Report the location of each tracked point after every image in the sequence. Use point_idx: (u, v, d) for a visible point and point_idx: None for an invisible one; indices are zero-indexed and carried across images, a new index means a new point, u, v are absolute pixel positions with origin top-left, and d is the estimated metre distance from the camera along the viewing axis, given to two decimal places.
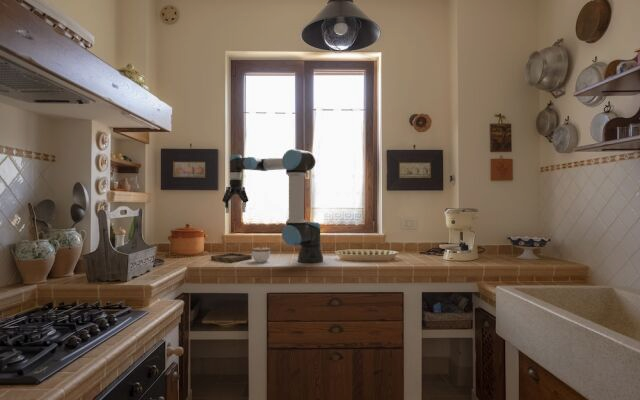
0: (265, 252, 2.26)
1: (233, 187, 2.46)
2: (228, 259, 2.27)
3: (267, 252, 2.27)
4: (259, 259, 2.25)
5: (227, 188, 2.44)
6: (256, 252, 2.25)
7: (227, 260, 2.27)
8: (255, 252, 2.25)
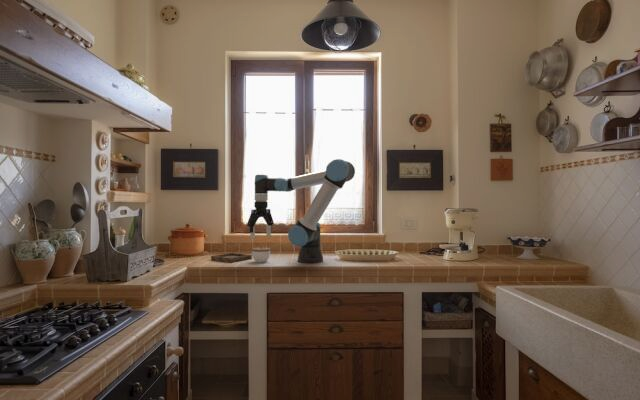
0: (265, 252, 2.26)
1: (258, 210, 2.27)
2: (228, 259, 2.27)
3: (267, 252, 2.27)
4: (259, 259, 2.25)
5: (252, 211, 2.24)
6: (256, 252, 2.25)
7: (227, 260, 2.27)
8: (255, 252, 2.25)
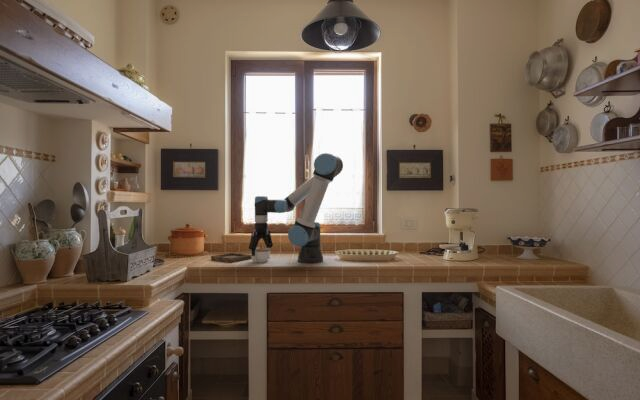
0: (265, 252, 2.26)
1: (258, 231, 2.27)
2: (228, 259, 2.27)
3: (267, 252, 2.27)
4: (259, 259, 2.25)
5: (252, 234, 2.24)
6: None
7: (227, 260, 2.27)
8: None
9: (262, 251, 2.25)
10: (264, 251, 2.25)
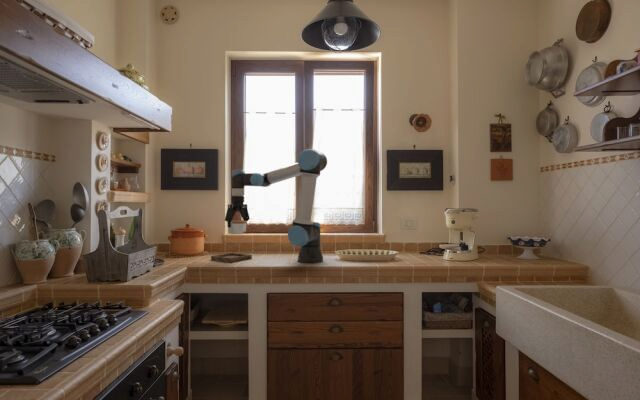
0: (241, 224, 2.32)
1: (235, 204, 2.32)
2: (228, 259, 2.27)
3: (243, 224, 2.33)
4: (235, 231, 2.31)
5: (229, 206, 2.30)
6: (232, 224, 2.31)
7: (227, 260, 2.27)
8: None
9: (238, 223, 2.31)
10: (240, 223, 2.31)
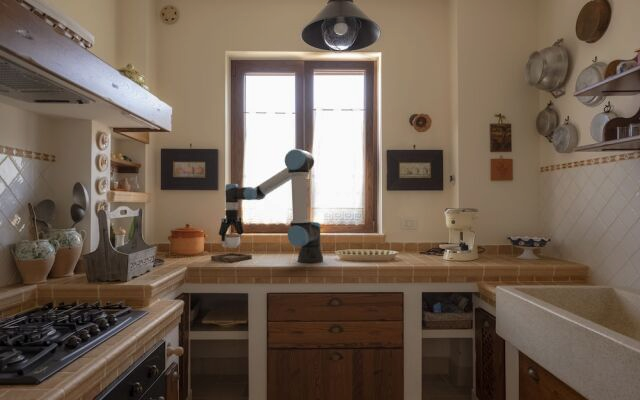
0: (235, 238, 2.33)
1: (229, 218, 2.34)
2: (228, 259, 2.27)
3: (237, 238, 2.34)
4: (229, 244, 2.33)
5: (222, 220, 2.32)
6: (226, 238, 2.33)
7: (227, 260, 2.27)
8: None
9: (232, 237, 2.32)
10: (234, 237, 2.33)
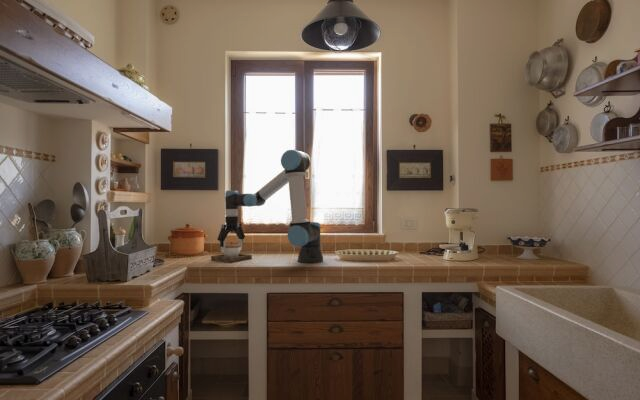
0: (235, 248, 2.33)
1: (229, 224, 2.34)
2: (228, 259, 2.27)
3: (237, 248, 2.34)
4: (229, 255, 2.33)
5: (222, 226, 2.32)
6: (226, 248, 2.32)
7: (227, 260, 2.27)
8: (225, 248, 2.33)
9: (232, 247, 2.32)
10: (234, 247, 2.33)
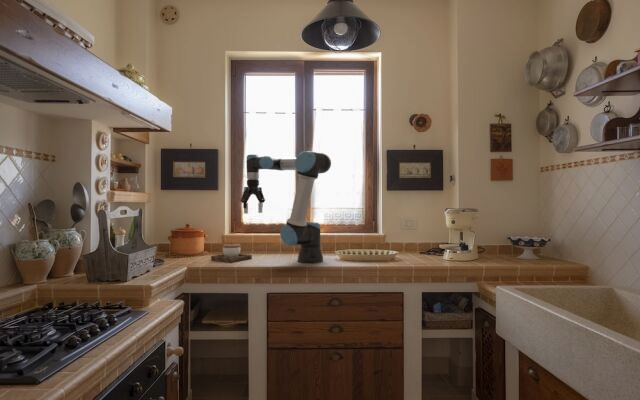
0: (235, 248, 2.33)
1: (251, 187, 2.43)
2: (228, 259, 2.27)
3: (237, 248, 2.34)
4: (229, 255, 2.33)
5: (245, 188, 2.41)
6: (226, 248, 2.33)
7: (227, 260, 2.27)
8: (225, 248, 2.33)
9: (232, 247, 2.32)
10: (234, 247, 2.33)
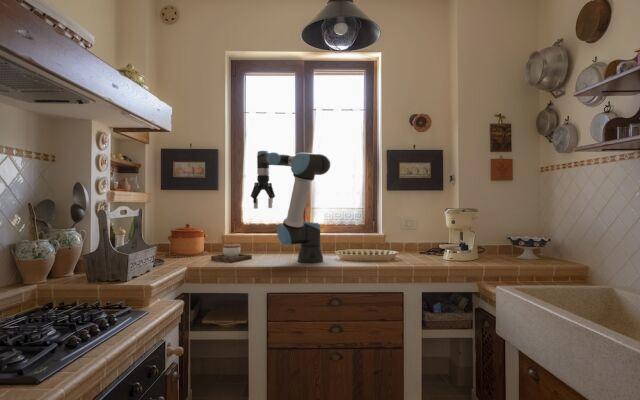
0: (235, 248, 2.33)
1: (261, 183, 2.48)
2: (228, 259, 2.27)
3: (237, 248, 2.34)
4: (229, 255, 2.33)
5: (255, 184, 2.46)
6: (226, 248, 2.33)
7: (227, 260, 2.27)
8: (225, 248, 2.33)
9: (232, 247, 2.32)
10: (234, 247, 2.33)
